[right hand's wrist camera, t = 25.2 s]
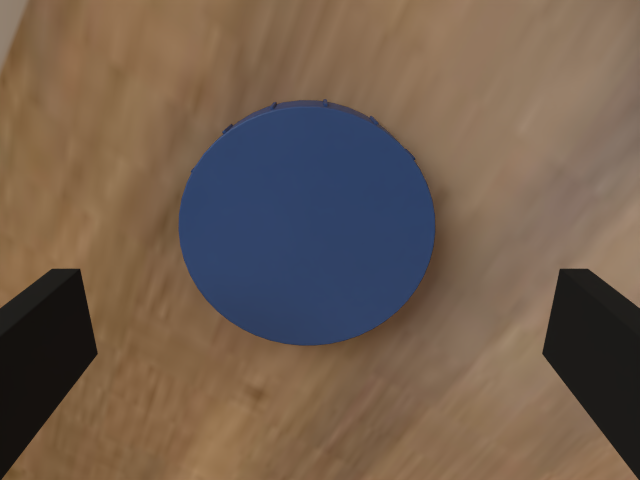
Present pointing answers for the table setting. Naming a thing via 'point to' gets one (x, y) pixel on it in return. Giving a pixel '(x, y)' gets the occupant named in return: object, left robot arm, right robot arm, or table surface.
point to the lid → (307, 223)
